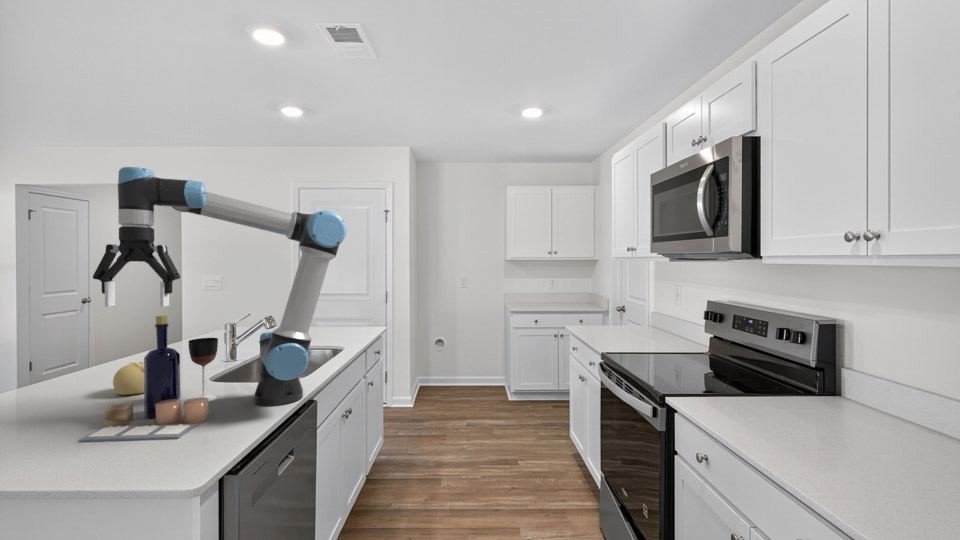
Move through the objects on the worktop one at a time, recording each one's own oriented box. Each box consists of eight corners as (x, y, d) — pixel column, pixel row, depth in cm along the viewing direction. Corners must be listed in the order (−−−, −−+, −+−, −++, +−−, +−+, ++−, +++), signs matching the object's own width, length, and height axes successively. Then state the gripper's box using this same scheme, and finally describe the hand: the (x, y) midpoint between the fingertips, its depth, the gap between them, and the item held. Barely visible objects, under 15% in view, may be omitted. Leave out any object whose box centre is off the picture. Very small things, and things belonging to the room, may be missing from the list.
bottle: (162, 420, 130) (161, 318, 129) (135, 418, 131) (134, 317, 130) (188, 409, 139) (187, 314, 138) (163, 407, 140) (162, 313, 139)
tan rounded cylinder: (212, 417, 133) (212, 397, 133) (201, 424, 127) (201, 403, 127) (190, 417, 132) (190, 397, 132) (179, 425, 126) (179, 404, 126)
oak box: (133, 420, 130) (132, 403, 130) (126, 426, 125) (126, 408, 125) (112, 422, 128) (111, 405, 128) (104, 428, 123) (104, 410, 123)
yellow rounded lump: (162, 391, 157) (162, 361, 157) (121, 400, 147) (120, 368, 147) (148, 386, 164) (147, 357, 163) (107, 394, 153) (107, 363, 153)
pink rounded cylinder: (185, 419, 131) (185, 398, 131) (173, 426, 125) (173, 405, 125) (163, 419, 130) (163, 399, 130) (151, 427, 124) (150, 406, 124)
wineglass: (183, 401, 147) (182, 341, 146) (207, 393, 155) (207, 337, 154) (199, 404, 144) (199, 343, 143) (224, 396, 152) (223, 338, 151)
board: (196, 425, 126) (196, 423, 126) (178, 438, 117) (178, 435, 117) (104, 428, 123) (104, 425, 123) (79, 442, 114) (79, 439, 114)
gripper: (194, 228, 123) (194, 304, 124) (96, 226, 120) (97, 304, 121) (178, 226, 115) (179, 307, 116) (74, 224, 113) (75, 307, 113)
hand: (137, 306), depth 118 cm, fingers open, 13 cm apart
